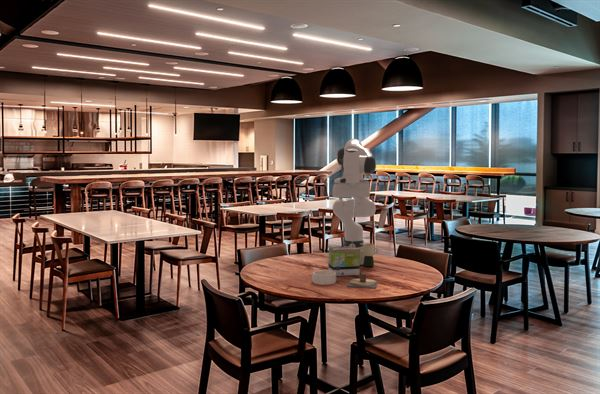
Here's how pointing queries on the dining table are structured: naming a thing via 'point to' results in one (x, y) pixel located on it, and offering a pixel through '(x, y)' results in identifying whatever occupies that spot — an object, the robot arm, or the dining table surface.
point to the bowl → (324, 277)
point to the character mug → (368, 254)
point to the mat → (362, 286)
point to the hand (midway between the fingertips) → (351, 205)
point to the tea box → (344, 260)
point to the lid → (362, 281)
